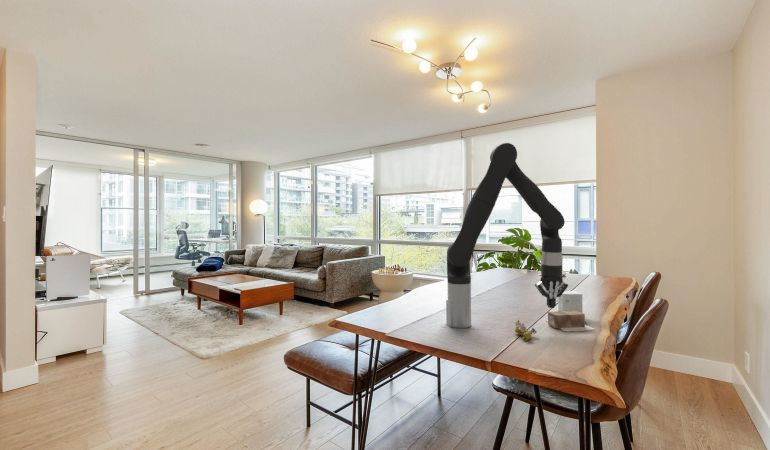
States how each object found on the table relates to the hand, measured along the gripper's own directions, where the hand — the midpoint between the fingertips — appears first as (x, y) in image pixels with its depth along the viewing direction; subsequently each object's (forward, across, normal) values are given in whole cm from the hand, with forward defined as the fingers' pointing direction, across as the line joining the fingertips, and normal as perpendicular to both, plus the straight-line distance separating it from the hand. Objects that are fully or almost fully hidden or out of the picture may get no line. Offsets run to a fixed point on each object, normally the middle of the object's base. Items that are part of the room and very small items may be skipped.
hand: (551, 307), depth 138 cm
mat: (+8, +8, +1) cm, 11 cm away
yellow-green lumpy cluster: (+8, -14, -6) cm, 18 cm away
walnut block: (+5, 0, 0) cm, 5 cm away
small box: (+8, +16, +12) cm, 21 cm away
